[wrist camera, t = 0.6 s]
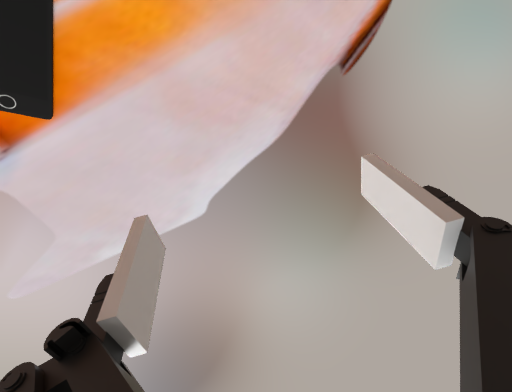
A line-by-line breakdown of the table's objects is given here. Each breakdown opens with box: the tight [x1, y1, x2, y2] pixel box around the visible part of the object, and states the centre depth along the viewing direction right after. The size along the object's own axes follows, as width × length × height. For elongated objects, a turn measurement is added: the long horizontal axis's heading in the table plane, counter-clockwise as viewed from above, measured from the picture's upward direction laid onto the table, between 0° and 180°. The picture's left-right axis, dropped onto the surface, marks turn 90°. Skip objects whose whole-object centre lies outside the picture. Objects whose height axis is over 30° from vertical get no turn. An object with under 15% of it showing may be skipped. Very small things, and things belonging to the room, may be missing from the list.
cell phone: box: [0, 0, 53, 119], centre depth 29 cm, size 9×18×1 cm, turn 155°
